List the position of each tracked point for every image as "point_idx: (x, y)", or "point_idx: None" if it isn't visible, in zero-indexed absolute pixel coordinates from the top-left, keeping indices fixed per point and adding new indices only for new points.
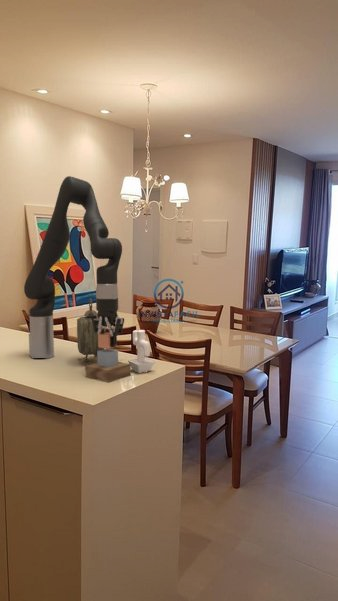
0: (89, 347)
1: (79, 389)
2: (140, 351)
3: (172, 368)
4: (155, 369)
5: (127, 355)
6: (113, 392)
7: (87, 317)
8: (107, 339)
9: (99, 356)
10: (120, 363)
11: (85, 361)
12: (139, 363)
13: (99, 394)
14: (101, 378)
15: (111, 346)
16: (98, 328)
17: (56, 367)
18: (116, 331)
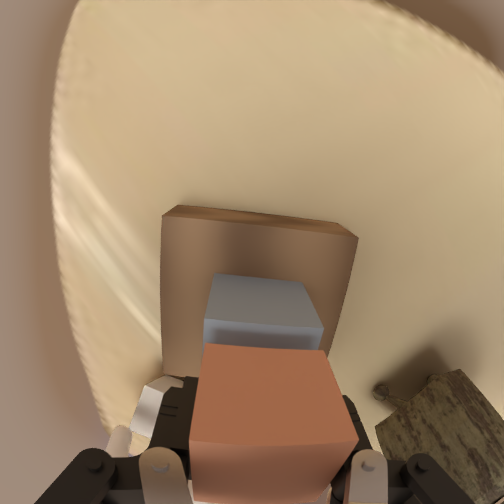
0: (436, 403)
1: (227, 50)
2: None
3: None
4: None
5: None
6: (77, 106)
7: (499, 499)
8: (196, 405)
9: (294, 306)
10: None
11: (431, 375)
12: (153, 400)
13: (110, 54)
14: (226, 211)
15: (187, 376)
16: (401, 499)
17: (488, 275)
18: (70, 478)
